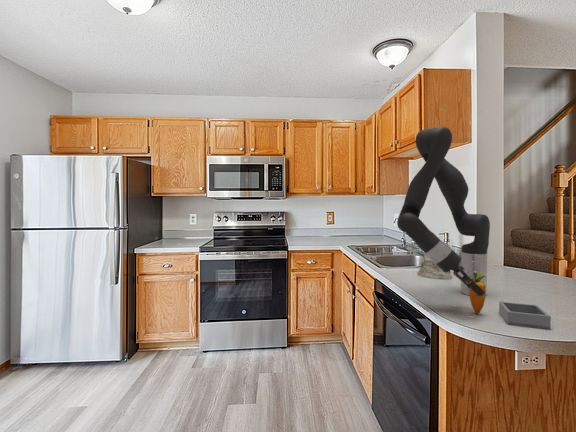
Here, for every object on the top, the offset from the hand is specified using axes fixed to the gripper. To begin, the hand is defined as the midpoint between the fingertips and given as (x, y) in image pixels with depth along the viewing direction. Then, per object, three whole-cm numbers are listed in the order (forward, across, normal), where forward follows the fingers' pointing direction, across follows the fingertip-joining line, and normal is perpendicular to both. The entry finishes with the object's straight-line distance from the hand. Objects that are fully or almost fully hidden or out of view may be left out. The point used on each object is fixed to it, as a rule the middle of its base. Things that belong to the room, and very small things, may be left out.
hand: (480, 291), depth 103 cm
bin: (+14, -1, -3) cm, 14 cm away
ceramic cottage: (-2, +54, +14) cm, 56 cm away
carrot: (+5, 0, +6) cm, 8 cm away
